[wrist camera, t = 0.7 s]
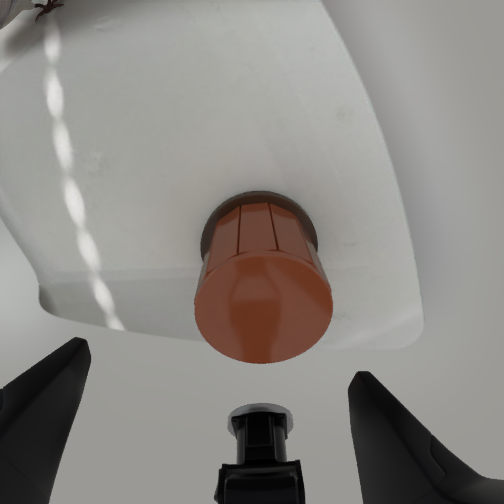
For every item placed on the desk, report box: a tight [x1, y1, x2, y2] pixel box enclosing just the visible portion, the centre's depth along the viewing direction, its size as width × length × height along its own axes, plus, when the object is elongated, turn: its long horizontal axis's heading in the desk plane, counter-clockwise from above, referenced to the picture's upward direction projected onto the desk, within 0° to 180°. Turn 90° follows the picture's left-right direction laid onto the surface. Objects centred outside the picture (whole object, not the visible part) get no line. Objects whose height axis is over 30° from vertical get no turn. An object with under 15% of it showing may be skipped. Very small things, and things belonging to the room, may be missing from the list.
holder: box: [200, 191, 318, 261], centre depth 19 cm, size 8×8×6 cm
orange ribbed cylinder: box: [194, 203, 333, 364], centre depth 18 cm, size 7×7×7 cm
